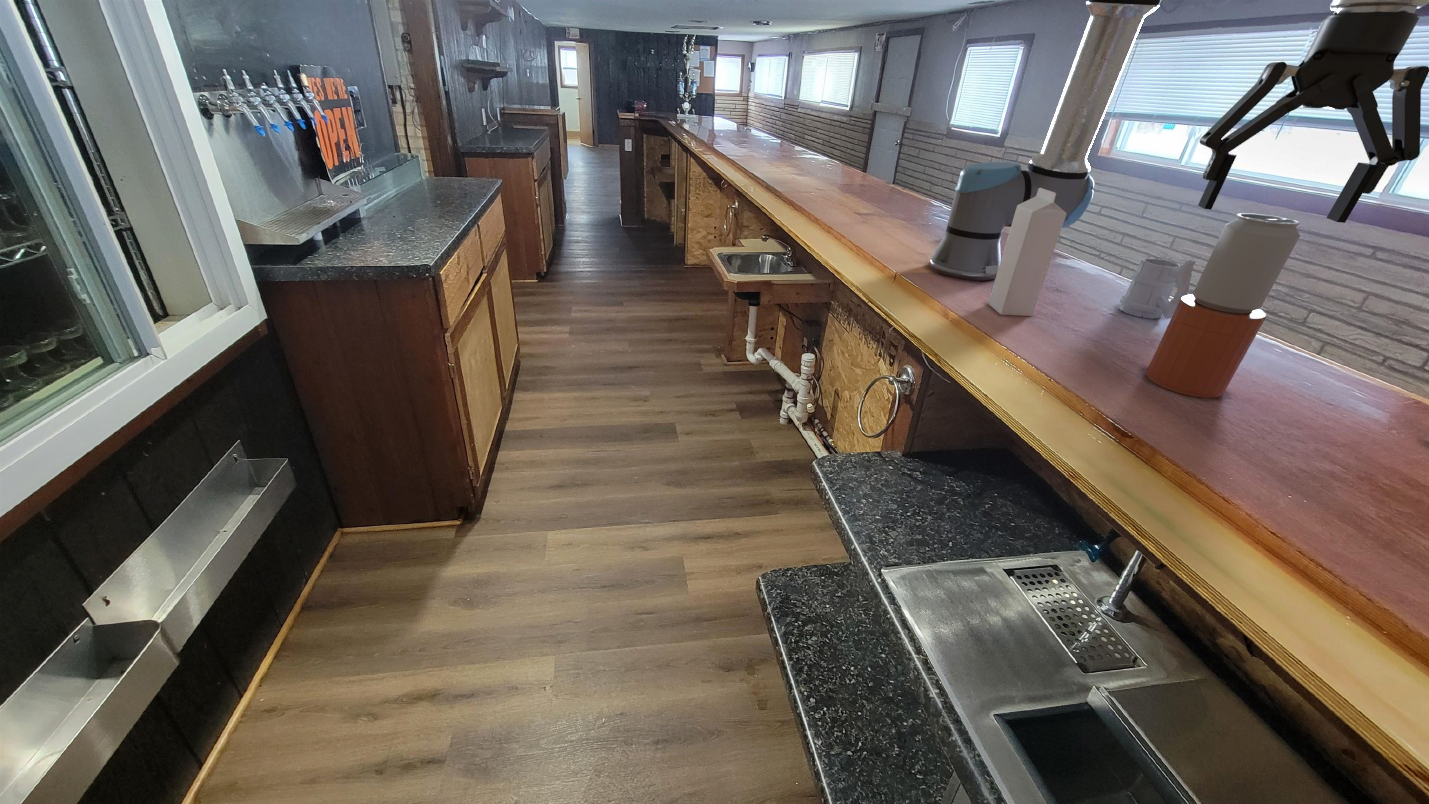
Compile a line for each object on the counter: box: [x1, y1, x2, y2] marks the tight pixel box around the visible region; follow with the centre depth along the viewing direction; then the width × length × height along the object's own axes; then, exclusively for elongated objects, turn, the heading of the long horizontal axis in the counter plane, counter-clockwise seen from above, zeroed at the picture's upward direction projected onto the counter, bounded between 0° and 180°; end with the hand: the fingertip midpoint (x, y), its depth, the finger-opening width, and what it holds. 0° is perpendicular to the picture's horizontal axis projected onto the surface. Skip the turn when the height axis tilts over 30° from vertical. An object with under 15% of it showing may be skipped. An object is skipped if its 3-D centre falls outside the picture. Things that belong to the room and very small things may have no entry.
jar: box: [1145, 294, 1267, 399], centre depth 81 cm, size 9×9×12 cm
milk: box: [987, 188, 1067, 317], centre depth 103 cm, size 6×6×22 cm
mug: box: [1119, 257, 1196, 320], centre depth 106 cm, size 8×12×12 cm, turn 4°
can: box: [1192, 212, 1301, 314], centre depth 75 cm, size 8×8×12 cm
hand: (1267, 214), depth 72 cm, fingers open, 13 cm apart
